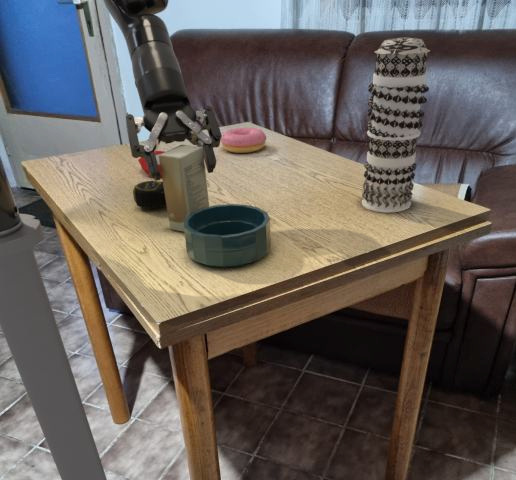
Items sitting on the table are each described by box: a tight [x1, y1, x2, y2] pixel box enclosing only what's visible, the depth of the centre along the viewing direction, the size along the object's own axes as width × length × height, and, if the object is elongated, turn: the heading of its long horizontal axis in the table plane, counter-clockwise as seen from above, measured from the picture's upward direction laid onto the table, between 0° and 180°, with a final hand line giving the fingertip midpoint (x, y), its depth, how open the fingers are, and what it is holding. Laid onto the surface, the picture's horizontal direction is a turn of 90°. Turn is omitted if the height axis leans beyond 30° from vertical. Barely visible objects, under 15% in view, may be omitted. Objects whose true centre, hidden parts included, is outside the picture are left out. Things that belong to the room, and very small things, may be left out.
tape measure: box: [132, 180, 167, 209], centre depth 93 cm, size 7×7×4 cm
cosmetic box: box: [159, 144, 210, 233], centre depth 83 cm, size 6×4×12 cm
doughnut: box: [220, 127, 267, 154], centre depth 123 cm, size 11×11×4 cm
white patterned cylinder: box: [361, 37, 431, 214], centre depth 83 cm, size 9×9×25 cm
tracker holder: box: [137, 150, 165, 178], centre depth 112 cm, size 12×4×10 cm
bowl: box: [183, 203, 272, 268], centre depth 76 cm, size 12×12×5 cm
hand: (185, 174), depth 80 cm, fingers open, 8 cm apart
